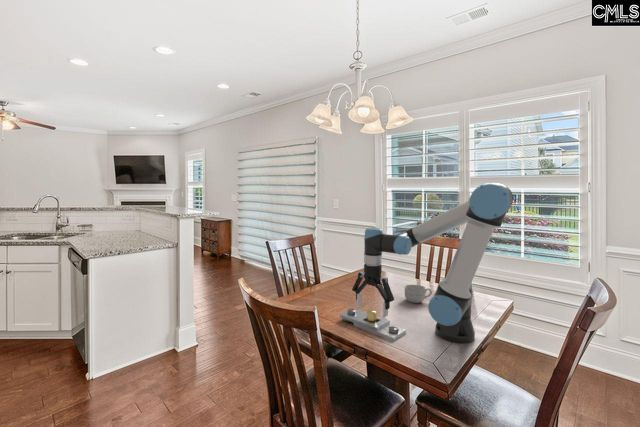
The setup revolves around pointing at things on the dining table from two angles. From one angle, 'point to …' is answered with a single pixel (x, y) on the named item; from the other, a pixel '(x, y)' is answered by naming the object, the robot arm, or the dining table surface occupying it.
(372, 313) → the brass pin
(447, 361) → the dining table surface
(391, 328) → the grey peg base plate
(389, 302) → the robot arm
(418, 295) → the teacup
